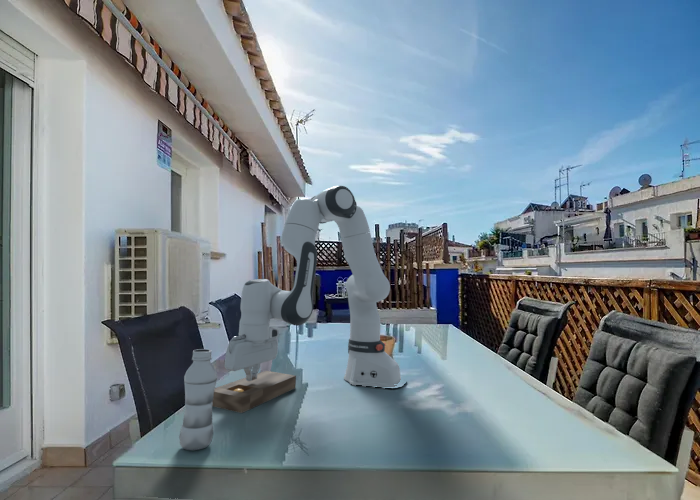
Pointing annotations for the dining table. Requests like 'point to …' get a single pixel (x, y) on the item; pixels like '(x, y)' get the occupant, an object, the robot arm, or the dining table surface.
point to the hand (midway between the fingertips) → (251, 379)
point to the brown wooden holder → (252, 391)
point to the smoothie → (266, 366)
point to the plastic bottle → (198, 402)
